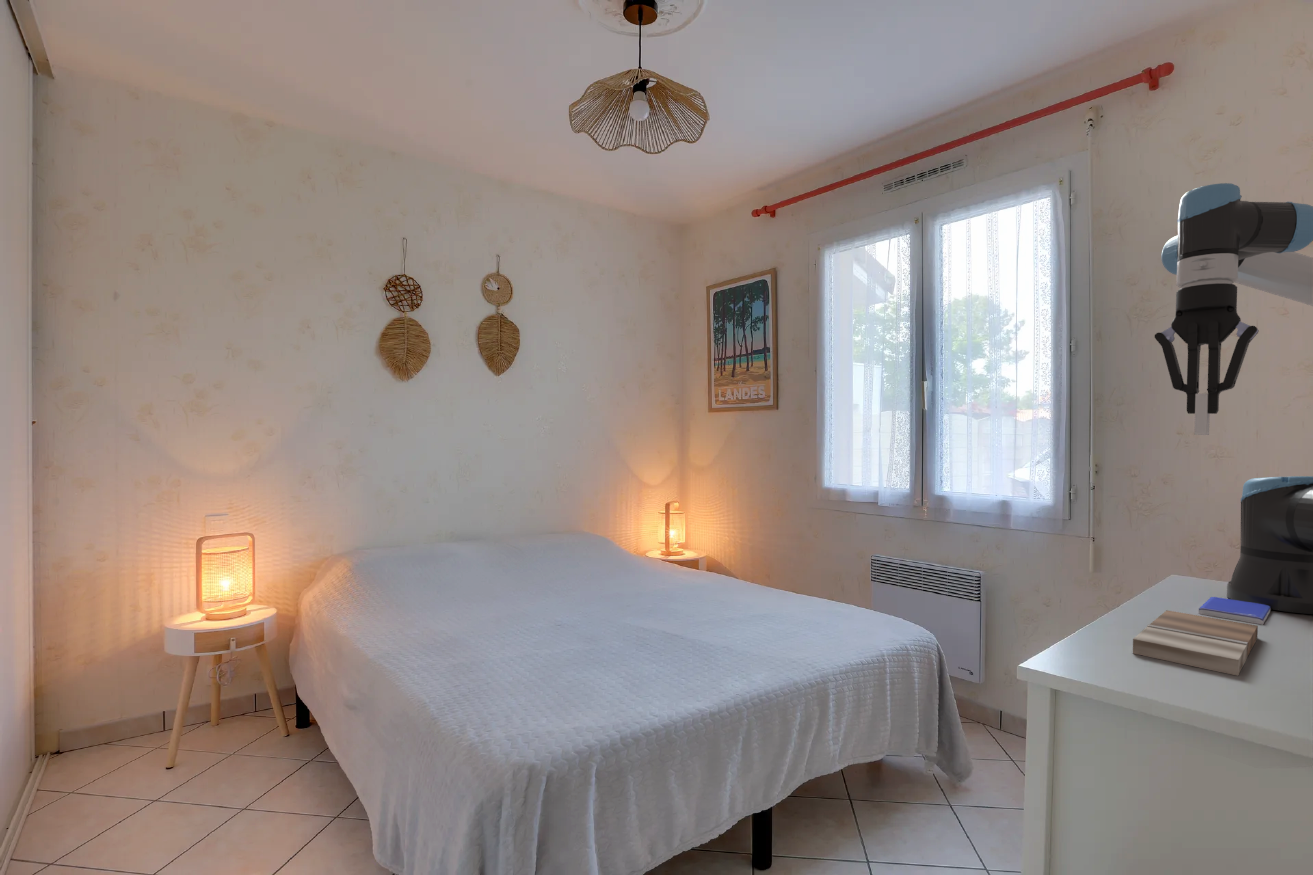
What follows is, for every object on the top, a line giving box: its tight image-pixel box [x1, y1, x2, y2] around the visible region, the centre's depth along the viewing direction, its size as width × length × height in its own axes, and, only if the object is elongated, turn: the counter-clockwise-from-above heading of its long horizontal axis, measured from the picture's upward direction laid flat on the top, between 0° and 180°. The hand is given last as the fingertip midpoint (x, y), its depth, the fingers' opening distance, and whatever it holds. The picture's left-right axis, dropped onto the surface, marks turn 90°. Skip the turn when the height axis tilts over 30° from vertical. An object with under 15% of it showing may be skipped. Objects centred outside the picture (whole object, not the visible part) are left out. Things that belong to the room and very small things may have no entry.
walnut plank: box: [1149, 609, 1259, 658], centre depth 100 cm, size 13×11×2 cm
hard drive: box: [1197, 596, 1272, 625], centre depth 115 cm, size 2×8×12 cm
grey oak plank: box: [1132, 623, 1248, 677], centre depth 91 cm, size 10×11×2 cm
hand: (1201, 434), depth 107 cm, fingers closed
